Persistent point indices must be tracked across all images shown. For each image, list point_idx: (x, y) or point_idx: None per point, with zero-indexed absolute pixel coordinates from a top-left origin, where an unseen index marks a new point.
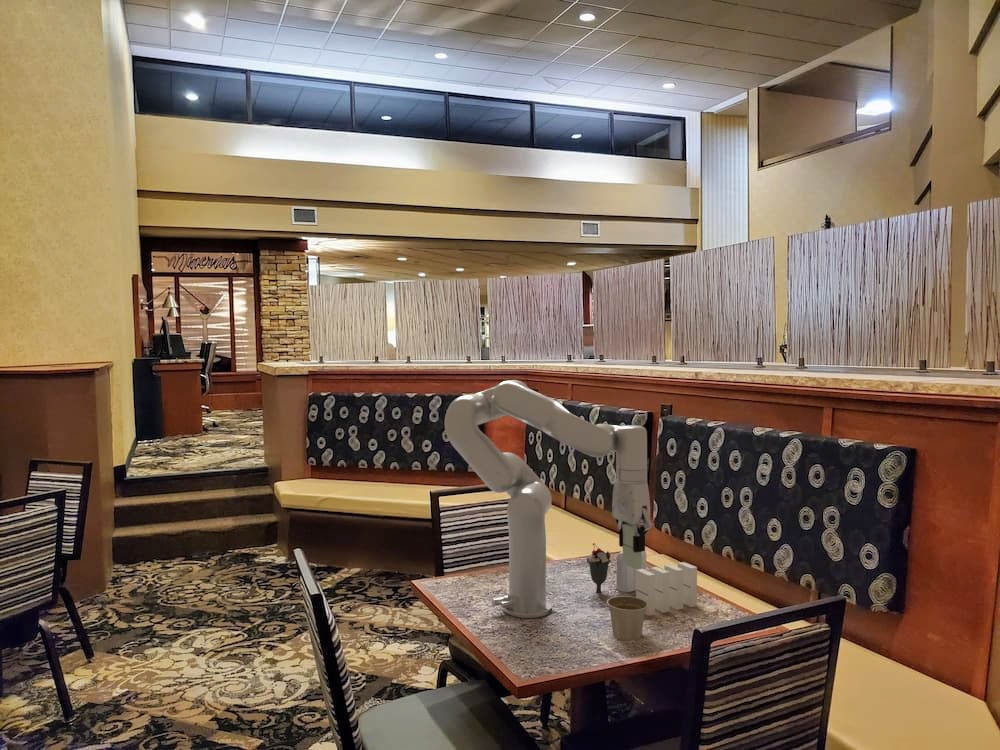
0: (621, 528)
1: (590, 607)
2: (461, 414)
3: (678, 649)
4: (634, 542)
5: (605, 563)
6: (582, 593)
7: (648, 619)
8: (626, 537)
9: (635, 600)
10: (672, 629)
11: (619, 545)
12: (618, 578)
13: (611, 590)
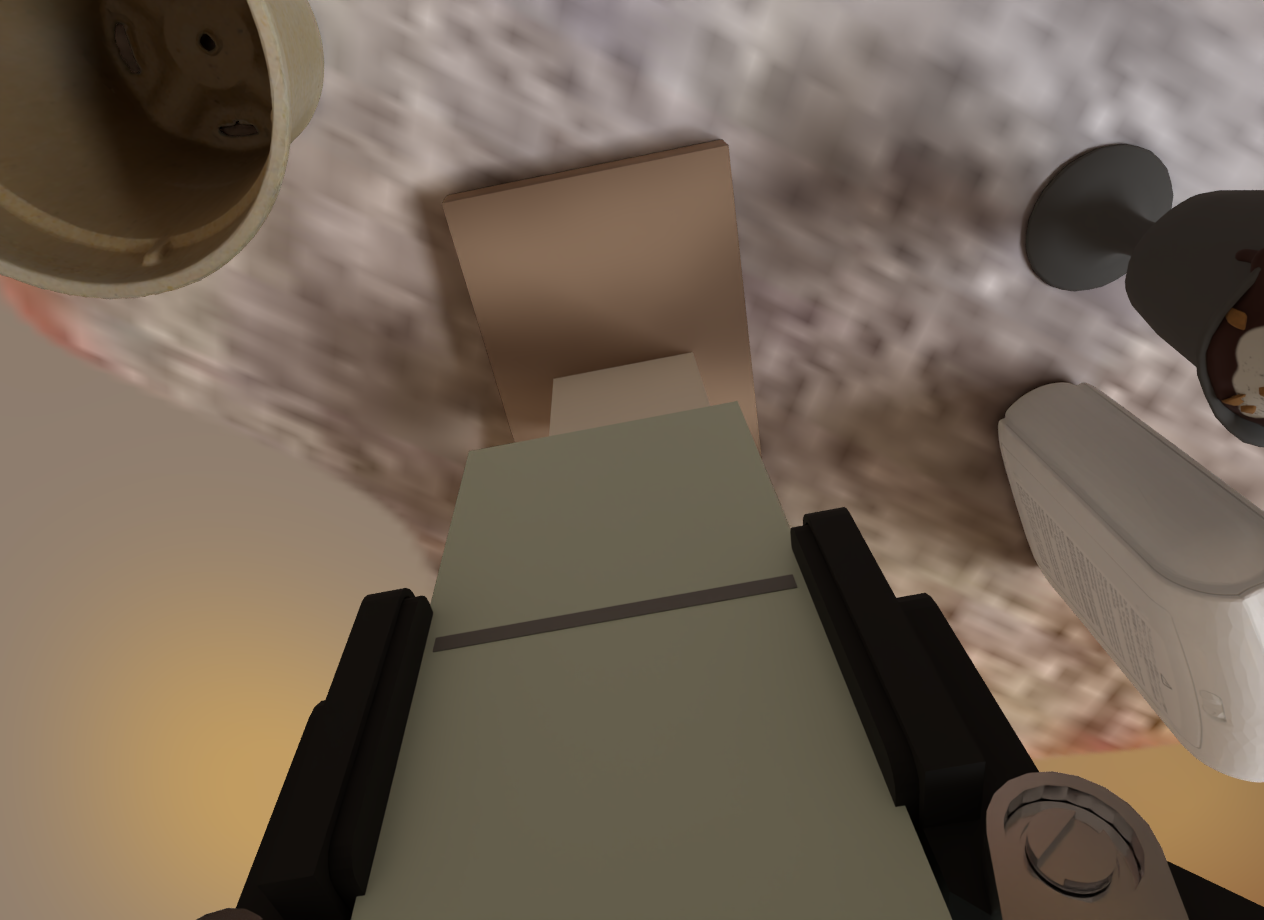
0: (983, 868)
1: (938, 45)
2: None
3: (58, 331)
4: (311, 739)
5: (1214, 350)
6: (1239, 119)
7: (486, 348)
8: (709, 729)
9: (231, 229)
10: (387, 437)
11: (841, 510)
12: (1128, 435)
13: (1147, 366)
